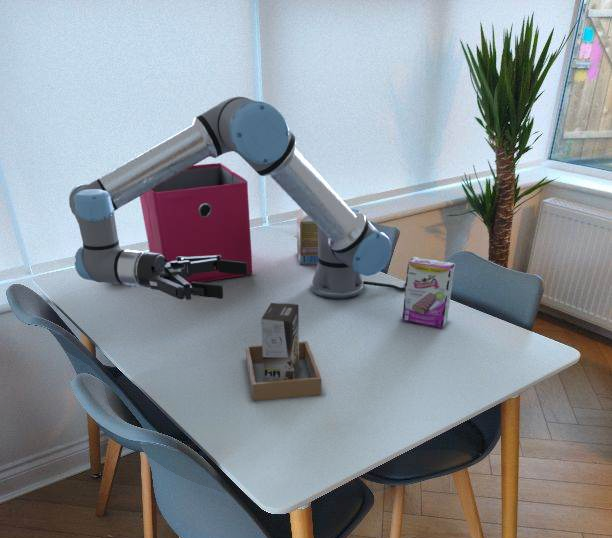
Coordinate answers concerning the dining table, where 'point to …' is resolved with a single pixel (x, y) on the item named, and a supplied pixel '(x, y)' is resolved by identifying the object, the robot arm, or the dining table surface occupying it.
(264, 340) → the coffee box
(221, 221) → the storage bin
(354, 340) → the dining table surface
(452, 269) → the candy bar box
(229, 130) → the robot arm
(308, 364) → the wooden box
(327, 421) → the dining table surface
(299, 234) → the milk carton
